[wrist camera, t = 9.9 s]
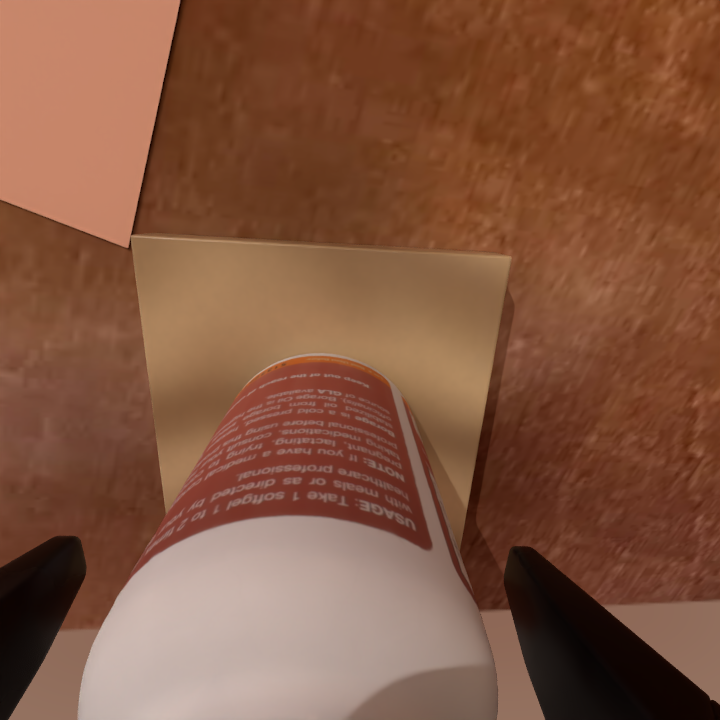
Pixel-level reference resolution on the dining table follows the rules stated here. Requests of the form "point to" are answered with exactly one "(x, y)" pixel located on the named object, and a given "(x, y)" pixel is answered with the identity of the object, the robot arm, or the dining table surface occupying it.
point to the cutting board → (318, 335)
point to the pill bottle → (300, 571)
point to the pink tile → (80, 106)
